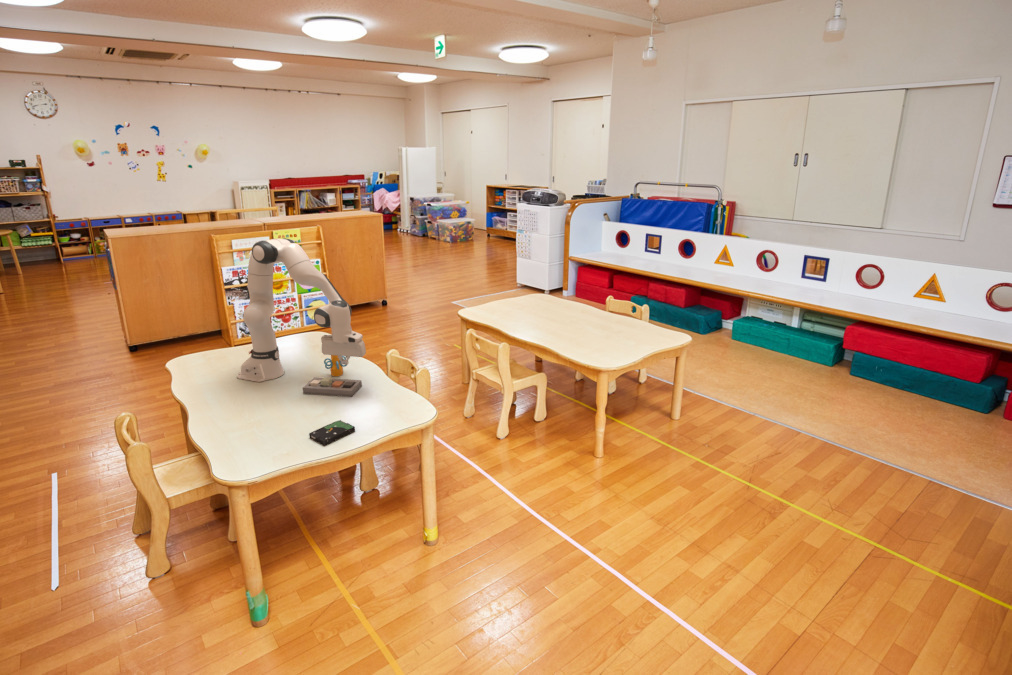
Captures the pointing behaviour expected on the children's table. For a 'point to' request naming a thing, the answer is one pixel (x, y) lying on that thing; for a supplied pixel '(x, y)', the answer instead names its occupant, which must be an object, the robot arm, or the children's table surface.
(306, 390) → the keyboard
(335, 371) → the orange and blue toy
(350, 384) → the key charcoal
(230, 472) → the children's table surface
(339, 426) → the disk drive
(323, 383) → the key sage
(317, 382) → the key white
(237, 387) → the children's table surface
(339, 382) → the key terracotta
